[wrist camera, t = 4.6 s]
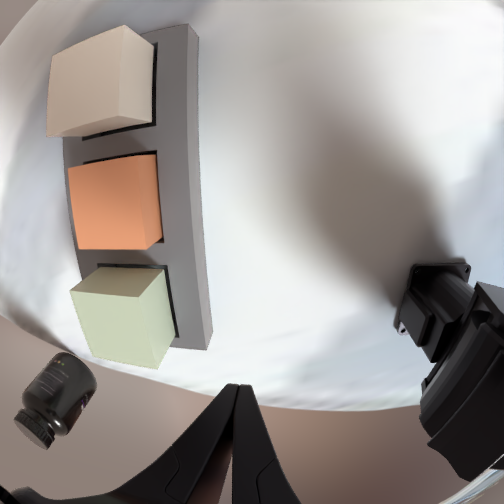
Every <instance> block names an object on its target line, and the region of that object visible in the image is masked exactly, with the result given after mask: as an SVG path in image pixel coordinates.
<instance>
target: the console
mask: <svg viewBox="0 0 504 504" xmlns="http://www.w3.org/2000/svg"><path fill="white" fill-rule="evenodd" d="M139 36H141V37H142V38H143V39H145V40H146V41H147V42H149V43H150V44H151V45H153V46H154V50H153V57H155V56H157V78H156V126H153V127H147V128H141V129H135V130H130V131H125V132H120V133H115V134H110V135H106V136H102V137H101V132H100V133H96V134H92V135H89V136H68V137H63V157H64V173H65V184H66V194H67V202H68V210H69V217H70V223H71V229H72V235H73V240H74V245H75V250H76V255H77V260H78V264H79V269H80V273H81V277H82V280H84V279H85V278H86V277H88V276H89V275H90V274H92V273H93V272H94V271H96V270H97V269H98V268H100V267H116V266H115V264H146V265H167V266H168V273H169V280H170V286H171V292H172V299H173V304H174V310H175V316H176V319H172V320H173V325H174V330H175V337H174V338H173V340H172V342H171V344H170V346H169V347H176V348H185V349H196V350H207V348H208V345H209V342H210V339H211V336H212V333H213V328H212V319H211V310H210V300H209V291H208V280H207V270H206V258H205V246H204V233H203V218H202V203H201V184H200V162H199V132H198V39H199V37H198V36H197V34H196V33H195V32H194V30H193V29H192V28H191V26H190V25H189V24H183V25H178V26H173V27H169V28H164V29H160V30H156V31H152V32H148V33H145V34H141V35H139ZM156 151H157V161H158V178H159V192H160V204H161V215H162V225H163V234H164V236H163V237H162V238H160V239H159V240H158V241H157V242H155V243H154V244H153V245H152V246H150V247H149V248H148V249H79V247H78V242H77V237H76V231H75V225H74V219H73V212H72V205H71V197H70V187H69V176H68V168H72V167H76V166H81V165H86V164H91V163H96V162H101V161H102V160H104V159H109V158H115V157H121V156H127V155H134V154H141V153H148V152H156Z"/></svg>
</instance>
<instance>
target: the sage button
mask: <svg viewBox="0 0 504 504" xmlns="http://www.w3.org/2000/svg"><path fill="white" fill-rule="evenodd" d="M70 294H71V297H72V301H73V304H74V307H75V310H76V313H77V316H78V319H79V322H80V325H81V328H82V330H83V333H84V336H85V338H86V341H87V343H88V346H89V349H90V351H91V353H92V356H93V357H97V358H101V359H105V360H110V361H114V362H119V363H124V364H129V365H134V366H140V367H146V368H152V369H158V368H159V366H160V364H161V362H162V360H163V358H164V356H165V354H166V352H167V350H168V348H169V346H170V344H171V342H172V340H173V338H174V337H175V330H174V325H173V320H172V314H171V309H170V304H169V298H168V292H167V286H166V280H165V273H164V269H145V268H116V267H100V268H98V269H97V270H96V271H94V272H93V273H92V274H90V275H89V276H88V277H86V278H85V279H84V280H82V281H81V282H80V283H79V284H77V285H76V286H75V287H73V288H72V289H71V290H70Z"/></svg>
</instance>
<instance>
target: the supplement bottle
mask: <svg viewBox="0 0 504 504" xmlns="http://www.w3.org/2000/svg"><path fill="white" fill-rule="evenodd" d="M96 388H97V383H96V380H95V377H94V375H93V374H92V372H91V371H90V369H89V368H88V367H87V366H86V365H85V364H84V363H83V362H82V361H81V360H79V359H78V358H77V357H75V356H73V355H71V354H69V353H65V352H62V353H58V354H56V355H55V356H54V357H53V359H52V360H51V361H50V362H49V363H48V364H47V365H46V366H45V367H44V368H43V370H42V371H41V372H40V373H39V374H38V375H37V376H36V378H35V379H34V380H33V381H32V382H31V383H30V385H29V386H28V387H27V388H26V389H25V391H24V392H23V394H22V403H23V406H24V409H20V410H19V411H18V414H17V415H16V417H15V418H14V422H15V424H16V426H17V427H18V428H19V429H20V430H21V432H22V433H23V434H24V435H25V436H26V437H28V438H29V439H30V440H31V441H32V442H34V443H35V444H36V445H38V446H39V447H41V448H43V449H46V450H47V449H48V448H49V447H50V445H51V443H52V442H54V440H55V438H54V436H65V435H67V434H68V433H69V432H70V431H71V429H72V427H73V426H74V424H75V423H76V421H77V419H78V418H79V416H80V415H81V413H82V411H83V410H84V408H85V407H86V405H87V404H88V402H89V401H90V399H91V398H92V396H93V394H94V393H95V391H96Z"/></svg>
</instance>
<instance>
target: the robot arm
mask: <svg viewBox="0 0 504 504" xmlns="http://www.w3.org/2000/svg"><path fill="white" fill-rule="evenodd" d="M466 268H467V269H466ZM417 269H419V270H418V272H416V270H417ZM465 269H466V270H465ZM470 271H471V266H470V265H469V264H467V263H442V264H415V265H413V266H412V268H411V271H410V276H409V281H408V286H407V290H406V291H405V294H404V298H403V302H402V307H401V311H400V314H399V323H398V326H397V332H398V334H399V335H409V334H410V336H411V338H412V339H413V341H414V343H415V344H416V346H417V347H422V349H423V351H424V352H425V354H426V356H427V357H428V359H429V361H430V362H431V363H436V362H437V363H436V364H435V366H434V367H433V369H432V370H431V372H430V374H429V375H428V377H427V378H425V379H424V380H423V382H422V383H421V386H422V397H421V400H420V406H421V414H420V416H419V419H420V422H421V423H422V426H423V428H424V430H425V431H426V432H427V434H428V435H429V436H430V437H431V438H432V439H430V441H428V443H427V445H428V446H429V447H431V448H432V449H434V450H436V451H438V452H439V453H440V454H442V455H443V456H444V457H445V458H446V459H447V460H448V461H449V463H450V464H451V466H452V467H453V469H454V470H455V472H456V473H457V474H458V476H459V477H460V478H462V479H464V480H467V481H469V482H472V481H474V480H475V479H476V478H478V477H479V476H480V475H481V474H483V473H484V472H485V471H486V470H488V469H494V470H504V288H501V287H497V286H494V285H490V284H486V283H482V282H478V281H477V283H476V285H475V287H474V288H472V287H471V286H470V285H469V284H468V279H469V275H470ZM415 272H416V273H415ZM403 328H404V329H403ZM402 329H403V330H402ZM231 457H233V459H232V504H301V502H300V501H299V499H298V498H297V496H296V495H295V493H294V491H293V490H292V488H291V486H290V484H289V482H288V481H287V479H286V477H285V474H284V472H283V470H282V468H281V465H280V463H279V460H278V458H277V455H276V453H275V450H274V447H273V444H272V442H271V439H270V436H269V434H268V431H267V428H266V425H265V423H264V420H263V417H262V414H261V411H260V408H259V406H258V403H257V400H256V397H255V394H254V391H253V388H252V386H251V385H245V384H241V385H240V386H239V385H238V384H231V383H228V384H227V385H226V386H225V387H224V388H223V389H222V390H221V391H220V393H219V394H218V395H217V396H216V397H215V398H214V399H213V401H212V402H211V403H210V404H209V405H208V406H207V407H206V408H205V410H204V411H203V412H202V413H201V414H200V415H199V416H198V417H197V418H196V420H195V421H194V422H193V423H192V424H191V425H190V426H189V427H188V428H187V429H186V430H185V431H184V432H183V434H182V435H181V436H180V437H179V438H178V439H177V440H176V441H175V442H174V443H173V444H172V446H170V447H169V448H168V449H167V450H166V451H165V452H164V453H163V454H162V455H161V456H160V457H159V458H158V459H157V460H155V461H154V462H153V463H152V464H151V465H149V466H148V467H147V468H146V469H144V470H143V471H141V472H140V473H139V474H137V475H136V476H135V477H133V478H132V479H130V480H129V481H127V482H126V483H125V484H123V485H122V486H120V487H119V488H117V489H115V490H113V491H111V492H108V493H105V494H100V495H95V496H89V497H82V498H73V499H65V500H53V499H48V498H45V497H43V496H41V495H40V494H39V493H37V492H36V491H34V490H33V489H31V488H30V487H23V488H18V489H15V490H13V491H12V492H11V493H10V492H9V491H8V490H6V489H5V488H4V487H3V486H2V485H0V504H218V503H219V499H220V496H221V493H222V489H223V485H224V482H225V479H226V475H227V471H228V468H229V464H230V461H231Z"/></svg>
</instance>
